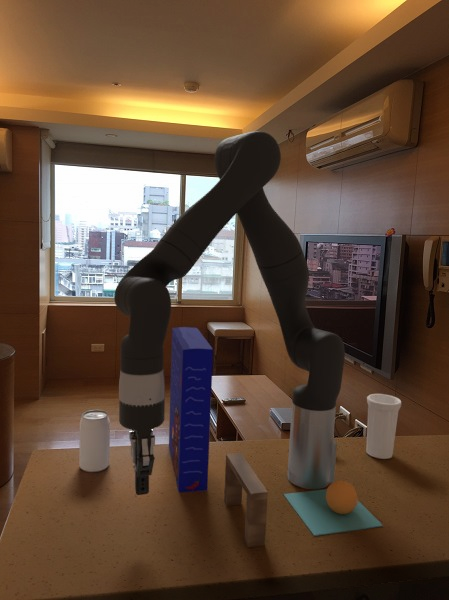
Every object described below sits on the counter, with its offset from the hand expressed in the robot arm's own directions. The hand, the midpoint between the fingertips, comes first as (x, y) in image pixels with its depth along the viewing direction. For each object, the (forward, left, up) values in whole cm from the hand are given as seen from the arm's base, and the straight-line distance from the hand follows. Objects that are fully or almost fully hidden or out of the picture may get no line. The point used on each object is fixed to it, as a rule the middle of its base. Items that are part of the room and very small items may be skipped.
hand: (141, 492), depth 84 cm
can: (+7, -27, -8) cm, 29 cm away
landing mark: (-37, 0, -8) cm, 37 cm away
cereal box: (-13, -23, -8) cm, 27 cm away
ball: (-38, +1, -5) cm, 39 cm away
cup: (-61, -20, -8) cm, 64 cm away
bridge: (-19, 0, -8) cm, 20 cm away
